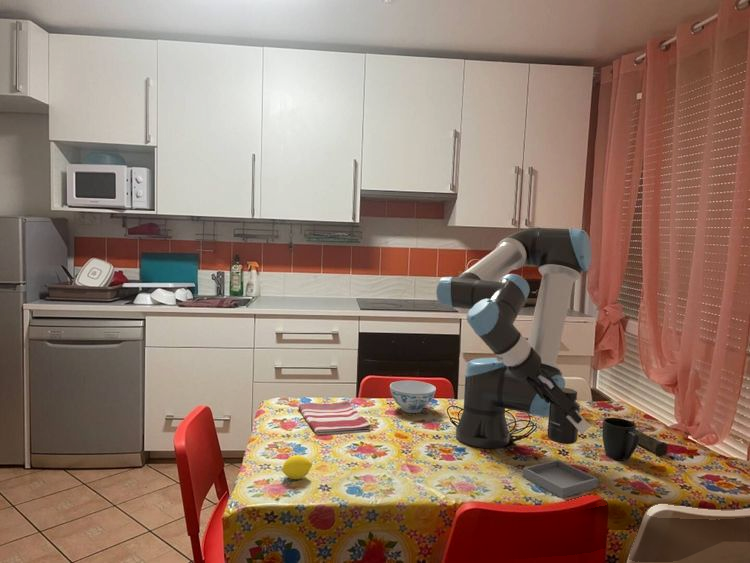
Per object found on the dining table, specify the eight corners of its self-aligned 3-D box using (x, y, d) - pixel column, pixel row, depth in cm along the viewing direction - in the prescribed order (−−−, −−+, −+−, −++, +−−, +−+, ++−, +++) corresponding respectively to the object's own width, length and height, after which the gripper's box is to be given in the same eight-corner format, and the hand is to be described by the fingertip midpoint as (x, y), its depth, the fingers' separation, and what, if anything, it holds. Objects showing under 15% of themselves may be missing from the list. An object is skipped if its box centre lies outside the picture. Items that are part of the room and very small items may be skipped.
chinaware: (391, 401, 195) (392, 379, 195) (435, 405, 193) (436, 382, 193) (386, 414, 181) (387, 390, 180) (433, 419, 179) (435, 395, 178)
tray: (522, 476, 139) (523, 467, 139) (557, 468, 145) (557, 459, 145) (561, 497, 128) (562, 488, 128) (597, 487, 135) (598, 478, 135)
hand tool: (668, 456, 157) (669, 440, 157) (655, 457, 156) (657, 440, 156) (623, 432, 176) (624, 418, 175) (612, 432, 175) (613, 418, 174)
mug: (618, 468, 147) (621, 432, 146) (594, 450, 159) (597, 417, 158) (648, 468, 148) (651, 432, 147) (622, 450, 160) (625, 417, 159)
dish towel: (348, 407, 188) (348, 399, 187) (371, 432, 166) (372, 423, 165) (297, 410, 182) (298, 402, 182) (315, 437, 160) (315, 427, 160)
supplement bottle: (545, 441, 134) (549, 391, 133) (548, 432, 140) (552, 384, 139) (576, 446, 131) (580, 395, 130) (577, 437, 137) (582, 388, 136)
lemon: (284, 486, 129) (282, 463, 128) (281, 476, 134) (279, 454, 133) (315, 480, 131) (313, 457, 130) (311, 470, 136) (308, 448, 135)
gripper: (490, 358, 141) (546, 421, 145) (525, 378, 122) (588, 451, 126) (512, 337, 141) (567, 401, 146) (550, 354, 122) (612, 427, 127)
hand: (577, 424), depth 136 cm, fingers closed on supplement bottle, 7 cm apart
